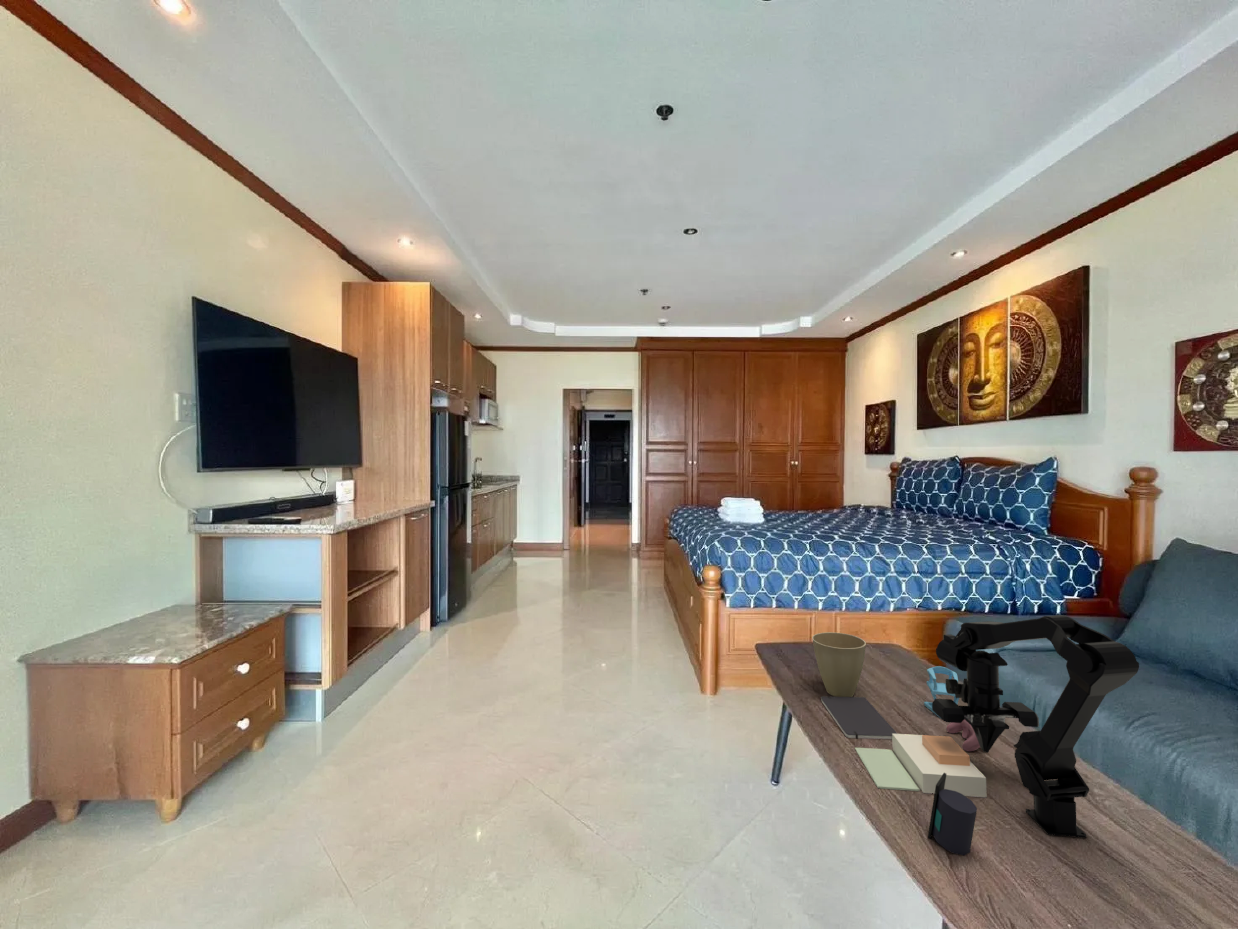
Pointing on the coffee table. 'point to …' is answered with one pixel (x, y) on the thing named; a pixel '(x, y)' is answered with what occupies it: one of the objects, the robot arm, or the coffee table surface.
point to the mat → (886, 769)
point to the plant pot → (839, 661)
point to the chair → (939, 684)
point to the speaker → (952, 819)
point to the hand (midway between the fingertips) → (984, 751)
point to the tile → (945, 750)
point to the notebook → (857, 718)
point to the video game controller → (965, 734)
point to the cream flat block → (936, 768)
